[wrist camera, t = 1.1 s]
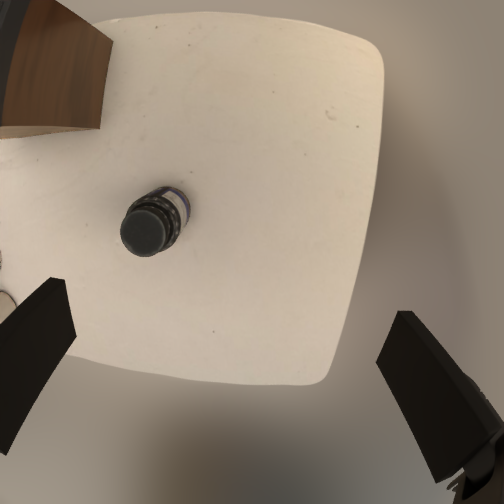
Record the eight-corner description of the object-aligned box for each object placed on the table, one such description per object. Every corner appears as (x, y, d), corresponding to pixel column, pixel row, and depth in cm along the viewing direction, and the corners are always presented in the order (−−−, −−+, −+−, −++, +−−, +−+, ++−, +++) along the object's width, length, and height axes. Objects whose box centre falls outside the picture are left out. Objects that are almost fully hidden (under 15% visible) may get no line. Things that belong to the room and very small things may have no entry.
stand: (113, 41, 27) (36, -13, 9) (99, 128, 31) (1, 126, 13) (34, 59, 26) (-49, 39, 8) (23, 137, 30) (-69, 149, 12)
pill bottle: (146, 230, 37) (114, 261, 26) (146, 185, 34) (111, 200, 24) (190, 233, 37) (173, 266, 27) (192, 186, 35) (173, 203, 25)
